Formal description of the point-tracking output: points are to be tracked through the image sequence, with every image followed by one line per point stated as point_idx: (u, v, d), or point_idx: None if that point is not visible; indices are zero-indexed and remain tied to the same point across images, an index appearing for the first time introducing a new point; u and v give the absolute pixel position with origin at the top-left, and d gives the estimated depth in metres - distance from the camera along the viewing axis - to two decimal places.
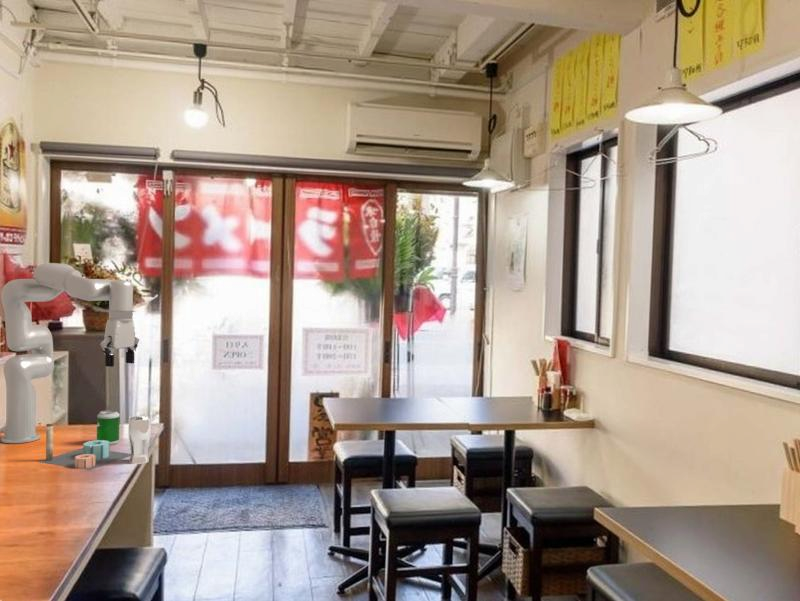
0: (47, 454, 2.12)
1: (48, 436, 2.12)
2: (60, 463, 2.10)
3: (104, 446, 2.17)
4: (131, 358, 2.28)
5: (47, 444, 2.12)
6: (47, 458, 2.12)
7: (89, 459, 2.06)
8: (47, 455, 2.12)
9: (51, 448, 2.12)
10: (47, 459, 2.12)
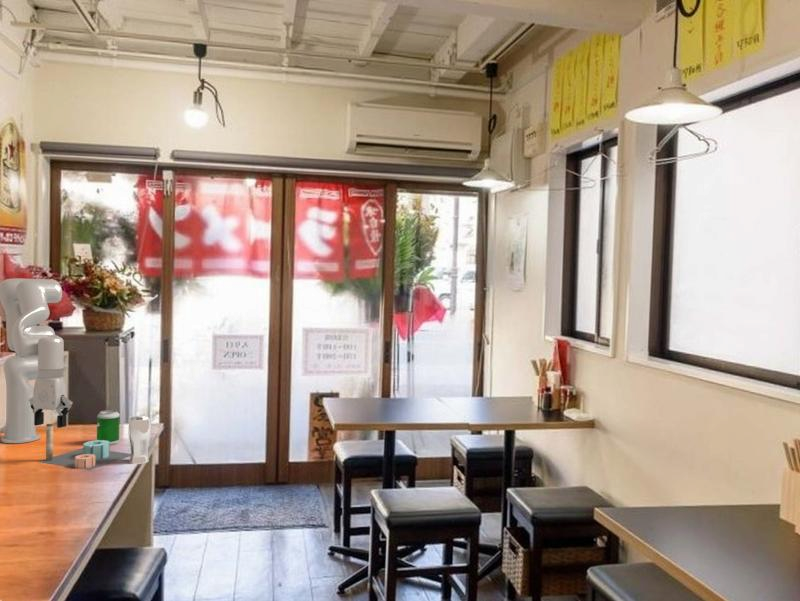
0: (47, 454, 2.12)
1: (48, 436, 2.12)
2: (60, 463, 2.10)
3: (104, 446, 2.17)
4: (42, 418, 2.15)
5: (47, 444, 2.12)
6: (47, 458, 2.12)
7: (89, 459, 2.06)
8: (47, 455, 2.12)
9: (51, 448, 2.12)
10: (47, 459, 2.12)
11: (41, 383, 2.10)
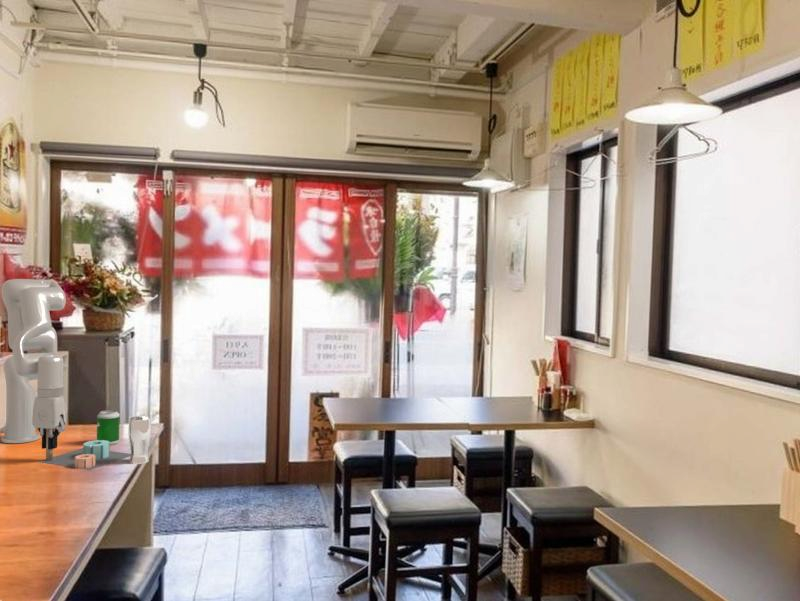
0: (47, 454, 2.12)
1: (48, 436, 2.12)
2: (60, 463, 2.10)
3: (104, 446, 2.17)
4: None
5: (47, 444, 2.12)
6: (47, 458, 2.12)
7: (89, 459, 2.06)
8: (47, 455, 2.12)
9: None
10: (47, 459, 2.12)
11: (40, 402, 2.10)
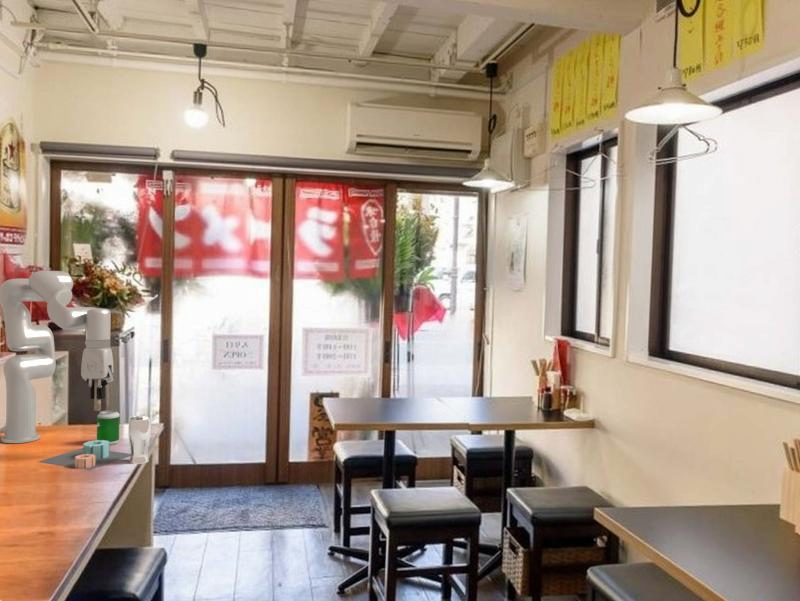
0: (95, 404, 2.18)
1: (96, 386, 2.17)
2: (60, 463, 2.10)
3: (104, 446, 2.17)
4: None
5: (95, 394, 2.18)
6: (95, 408, 2.18)
7: (89, 459, 2.06)
8: (95, 405, 2.18)
9: None
10: (95, 409, 2.18)
11: (89, 353, 2.16)
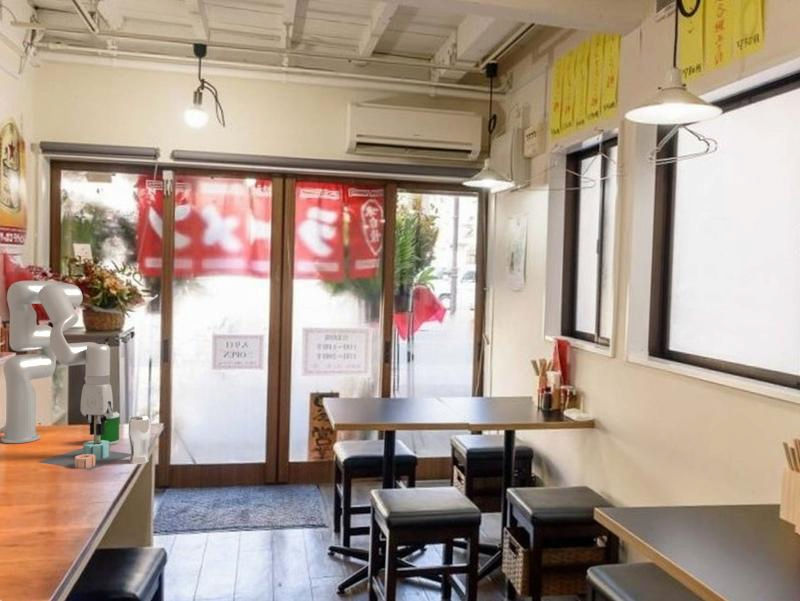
0: (95, 440, 2.18)
1: (96, 422, 2.18)
2: (60, 463, 2.10)
3: (104, 446, 2.17)
4: None
5: (95, 430, 2.18)
6: None
7: (89, 459, 2.06)
8: (95, 441, 2.18)
9: None
10: None
11: (89, 389, 2.16)
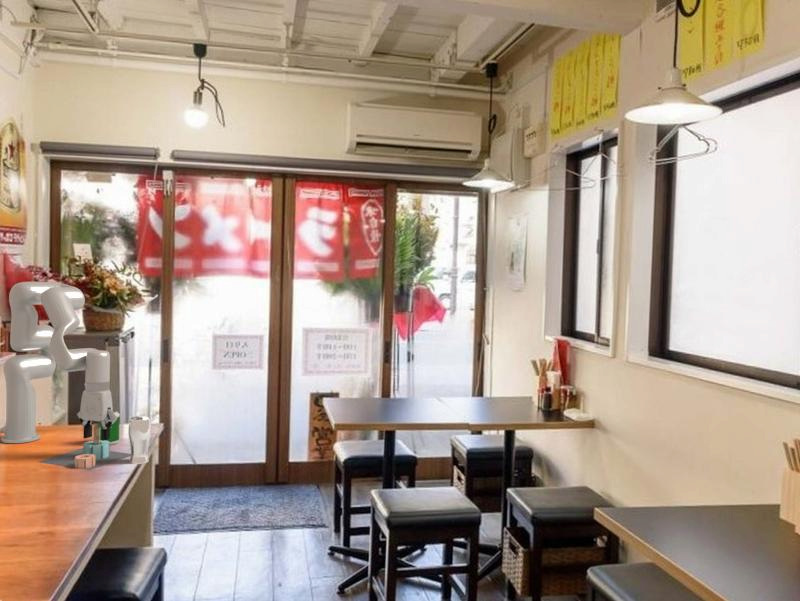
0: None
1: (96, 433, 2.18)
2: (60, 463, 2.10)
3: (104, 446, 2.17)
4: (91, 431, 2.21)
5: (94, 440, 2.18)
6: None
7: (89, 459, 2.06)
8: None
9: None
10: None
11: (88, 396, 2.16)
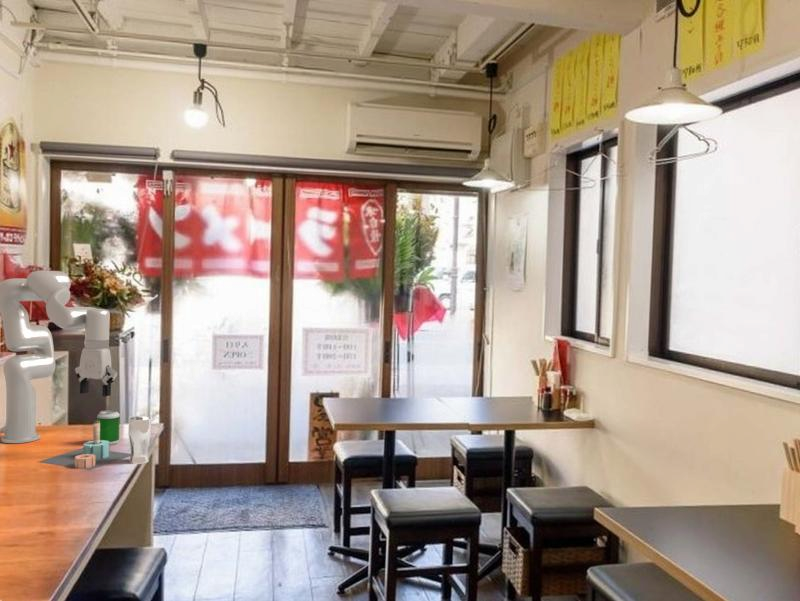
0: None
1: (95, 433, 2.18)
2: (60, 463, 2.10)
3: (104, 446, 2.17)
4: (87, 387, 2.23)
5: (94, 440, 2.18)
6: None
7: (89, 459, 2.06)
8: None
9: None
10: None
11: (88, 353, 2.18)
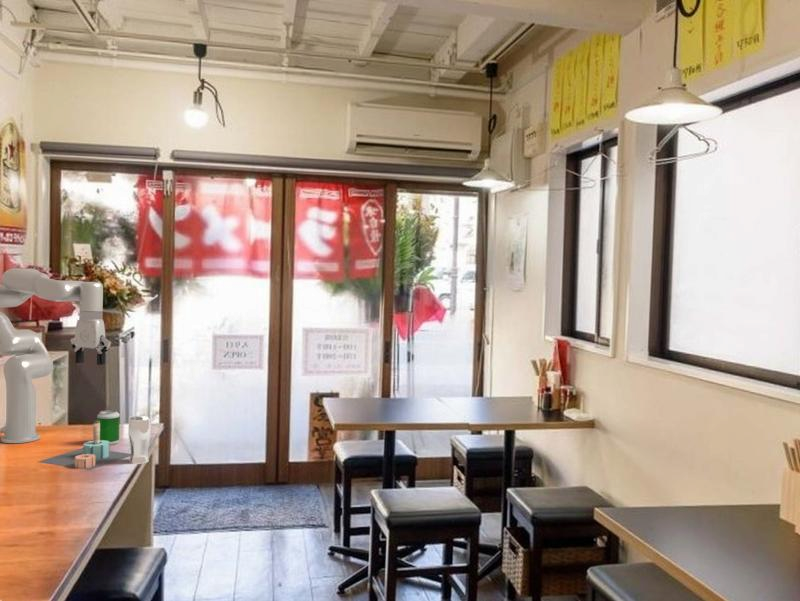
0: None
1: (95, 433, 2.18)
2: (60, 463, 2.10)
3: (104, 446, 2.17)
4: (82, 357, 2.33)
5: (94, 440, 2.18)
6: None
7: (89, 459, 2.06)
8: None
9: None
10: None
11: (82, 324, 2.28)
